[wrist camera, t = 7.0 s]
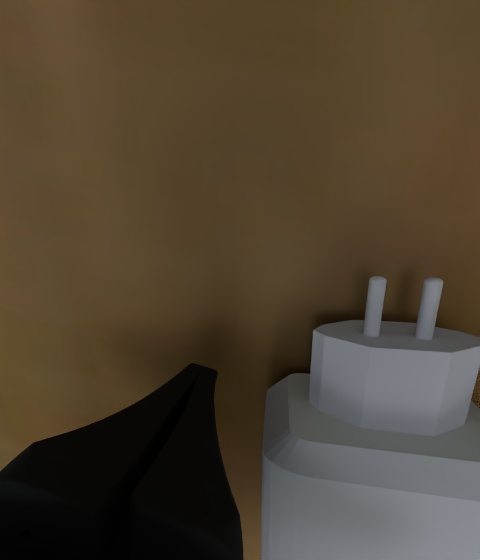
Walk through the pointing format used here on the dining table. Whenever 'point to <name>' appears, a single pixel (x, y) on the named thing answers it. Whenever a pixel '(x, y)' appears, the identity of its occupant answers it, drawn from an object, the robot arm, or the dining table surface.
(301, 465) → the charger
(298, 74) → the dining table surface
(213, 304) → the dining table surface
